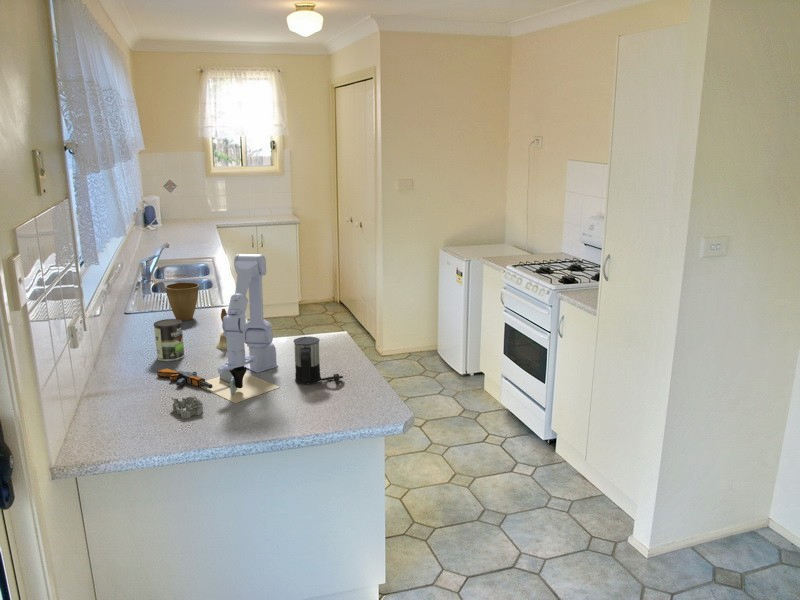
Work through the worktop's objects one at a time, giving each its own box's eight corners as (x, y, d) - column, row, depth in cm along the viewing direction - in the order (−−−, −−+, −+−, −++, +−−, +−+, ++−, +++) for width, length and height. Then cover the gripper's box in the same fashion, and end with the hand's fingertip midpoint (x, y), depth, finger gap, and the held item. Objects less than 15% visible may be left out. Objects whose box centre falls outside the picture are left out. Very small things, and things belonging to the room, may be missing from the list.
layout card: (239, 370, 241) (239, 370, 241) (279, 387, 226) (279, 386, 225) (195, 384, 228) (195, 383, 228) (235, 403, 213) (235, 402, 213)
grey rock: (170, 409, 209) (169, 397, 208) (194, 403, 213) (193, 391, 212) (181, 420, 201) (180, 408, 200) (205, 414, 205) (204, 402, 204)
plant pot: (183, 324, 299) (180, 290, 295) (161, 320, 306) (158, 286, 302) (208, 316, 311) (205, 284, 307) (186, 312, 318) (183, 280, 314)
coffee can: (190, 354, 259) (187, 319, 256) (173, 362, 250) (170, 327, 246) (168, 351, 263) (165, 317, 259) (151, 359, 253) (147, 324, 250)
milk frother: (292, 377, 235) (290, 337, 232) (335, 371, 241) (334, 332, 237) (301, 391, 222) (299, 349, 219) (346, 385, 228) (345, 344, 224)
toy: (153, 377, 235) (178, 370, 242) (196, 395, 218) (221, 386, 226) (152, 371, 234) (177, 363, 242) (195, 388, 218) (220, 379, 225)
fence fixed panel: (235, 383, 228) (234, 371, 227) (232, 384, 228) (232, 372, 227) (222, 377, 234) (221, 366, 233) (220, 378, 233) (219, 367, 232)
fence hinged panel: (234, 383, 228) (233, 371, 227) (237, 383, 228) (236, 371, 227) (230, 394, 218) (229, 382, 217) (233, 394, 219) (233, 382, 218)
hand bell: (225, 351, 263) (222, 312, 259) (212, 347, 268) (209, 309, 264) (241, 345, 270) (239, 308, 266) (228, 342, 274) (225, 305, 270)
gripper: (244, 341, 226) (247, 378, 230) (210, 353, 215) (213, 391, 218) (258, 345, 222) (261, 382, 226) (224, 357, 211) (227, 396, 214)
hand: (238, 387), depth 222 cm, fingers closed, pressing on fence hinged panel
